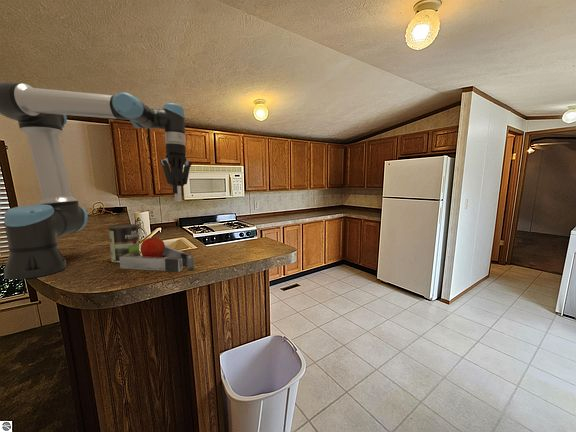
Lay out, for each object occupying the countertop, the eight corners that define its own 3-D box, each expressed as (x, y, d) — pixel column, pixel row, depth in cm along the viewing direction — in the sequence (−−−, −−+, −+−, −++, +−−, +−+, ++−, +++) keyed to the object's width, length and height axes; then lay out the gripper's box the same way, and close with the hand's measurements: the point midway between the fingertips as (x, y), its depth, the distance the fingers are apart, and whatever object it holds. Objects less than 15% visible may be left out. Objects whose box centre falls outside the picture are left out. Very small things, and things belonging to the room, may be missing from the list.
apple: (168, 264, 94) (167, 237, 93) (143, 269, 89) (141, 240, 87) (162, 259, 101) (161, 234, 99) (139, 263, 95) (137, 236, 94)
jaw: (192, 265, 92) (191, 254, 92) (181, 268, 89) (181, 257, 89) (164, 253, 107) (164, 244, 106) (154, 256, 103) (154, 246, 103)
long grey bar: (195, 268, 90) (195, 255, 90) (189, 272, 86) (188, 259, 85) (129, 264, 93) (128, 252, 92) (120, 268, 89) (119, 255, 88)
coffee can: (146, 256, 104) (144, 224, 102) (125, 263, 94) (123, 228, 92) (126, 254, 106) (123, 223, 104) (104, 261, 96) (101, 227, 94)
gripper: (165, 140, 90) (168, 202, 93) (195, 145, 101) (197, 201, 104) (154, 142, 94) (158, 201, 97) (184, 147, 105) (186, 200, 108)
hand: (178, 201), depth 101 cm, fingers closed
